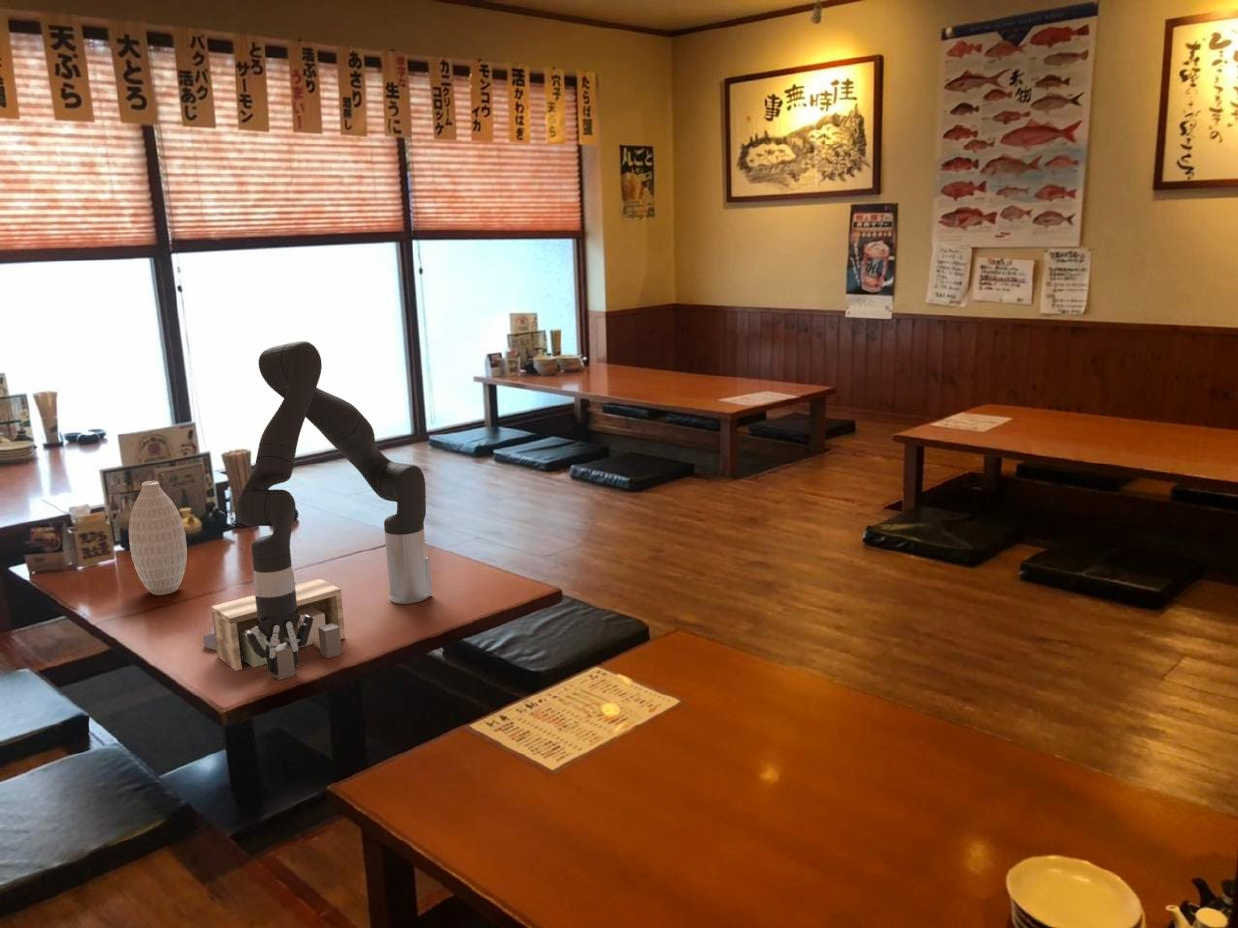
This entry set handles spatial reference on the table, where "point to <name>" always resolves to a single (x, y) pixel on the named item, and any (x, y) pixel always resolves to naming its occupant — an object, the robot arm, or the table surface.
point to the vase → (157, 540)
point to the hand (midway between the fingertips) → (283, 670)
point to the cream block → (322, 633)
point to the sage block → (248, 655)
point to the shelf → (245, 617)
